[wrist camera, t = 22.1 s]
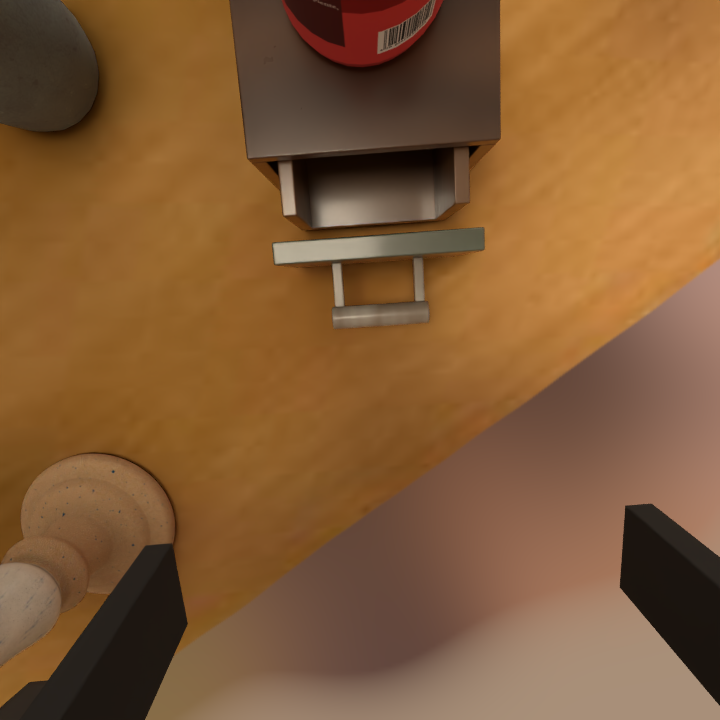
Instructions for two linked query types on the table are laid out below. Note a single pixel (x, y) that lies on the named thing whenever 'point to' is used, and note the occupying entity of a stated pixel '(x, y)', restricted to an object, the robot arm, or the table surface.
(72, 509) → the candle holder
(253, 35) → the cabinet
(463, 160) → the drawer
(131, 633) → the robot arm
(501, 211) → the table surface
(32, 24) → the bottle
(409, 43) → the canned food
